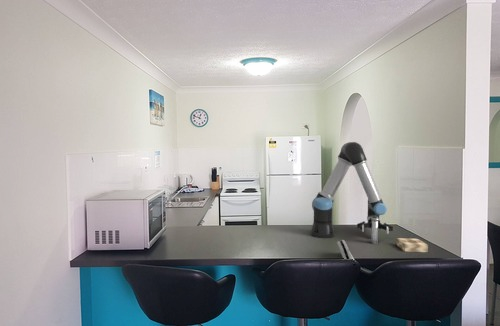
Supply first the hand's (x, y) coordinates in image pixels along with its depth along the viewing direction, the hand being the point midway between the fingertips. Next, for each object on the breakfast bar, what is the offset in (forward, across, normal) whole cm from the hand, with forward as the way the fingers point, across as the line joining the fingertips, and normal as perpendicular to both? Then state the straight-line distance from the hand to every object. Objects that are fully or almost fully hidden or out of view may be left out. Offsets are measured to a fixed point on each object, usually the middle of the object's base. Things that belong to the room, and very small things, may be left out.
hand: (375, 230), depth 188 cm
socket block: (0, -19, -8) cm, 21 cm away
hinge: (+31, +15, -9) cm, 36 cm away
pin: (-3, 0, -8) cm, 9 cm away
